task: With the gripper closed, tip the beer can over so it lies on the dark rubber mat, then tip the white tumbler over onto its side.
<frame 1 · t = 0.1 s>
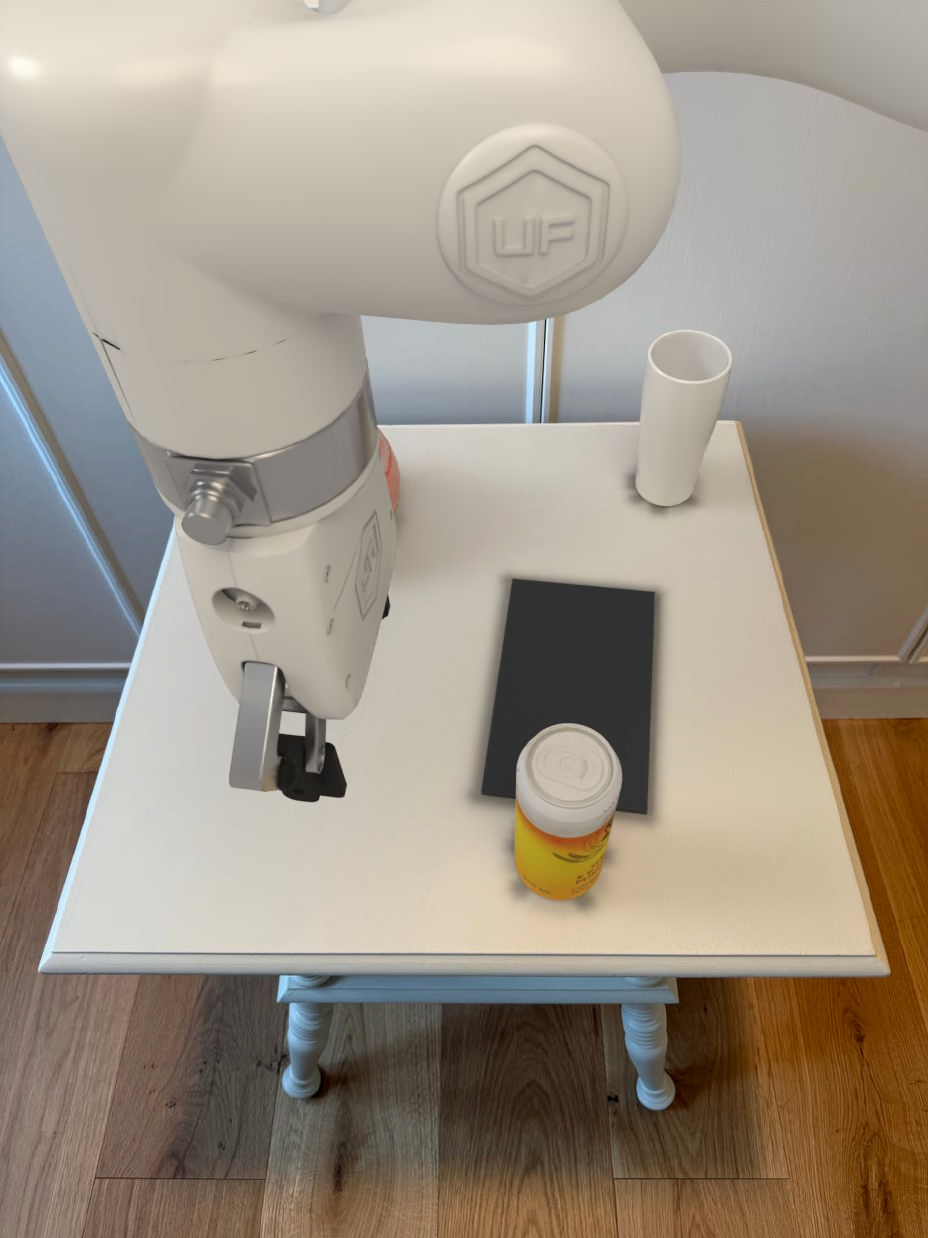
hand: (336, 694, 43), 25 cm above the table, tool pointing down, fingers open, 9 cm apart
white tumbler: (663, 489, 85), on the table
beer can: (557, 862, 65), on the table
mat: (573, 687, 73), on the table
vase: (331, 530, 83), on the table
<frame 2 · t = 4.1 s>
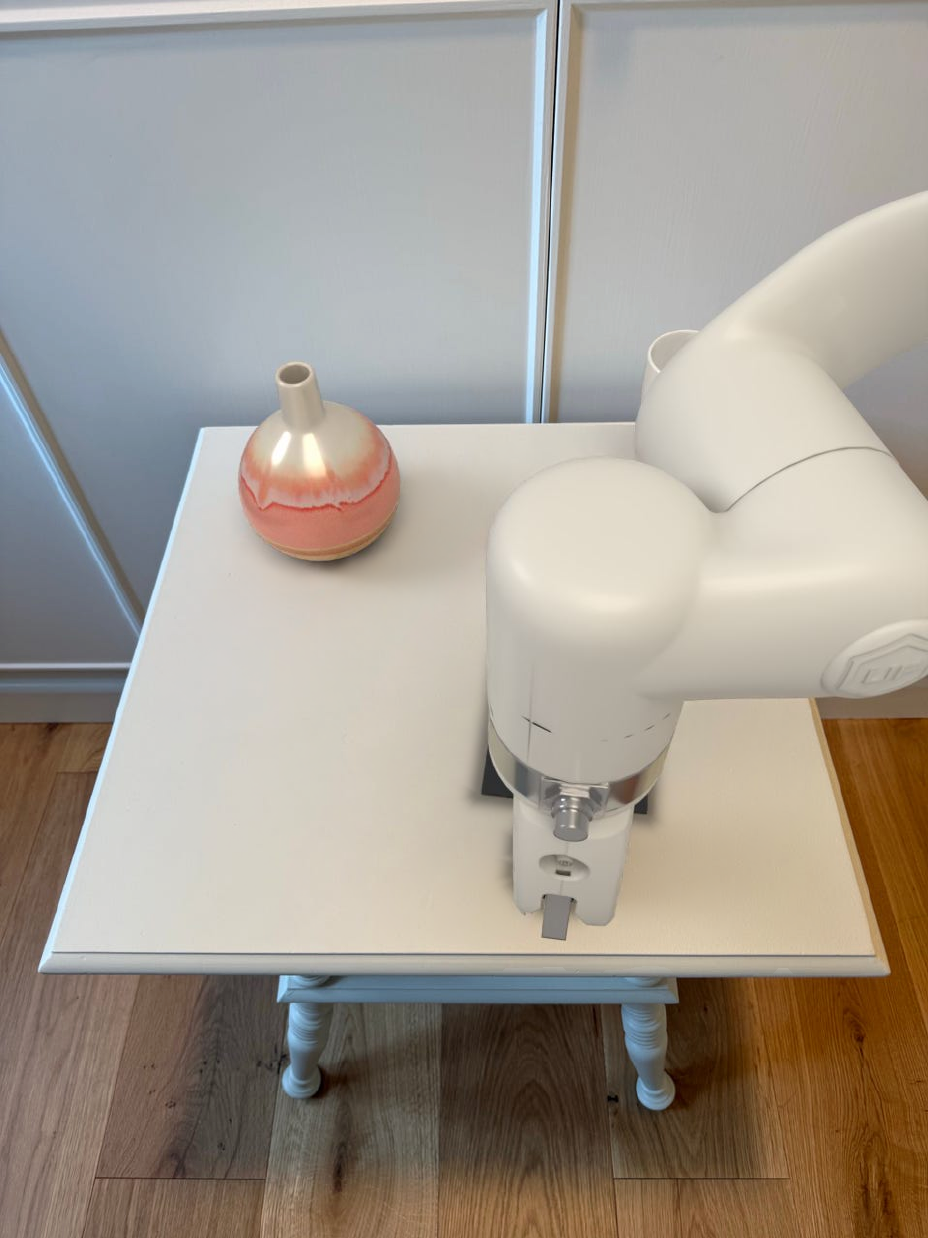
hand: (555, 879, 53), 11 cm above the table, tool pointing down, fingers closed
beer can: (557, 862, 65), on the table, touching gripper
everything else where it was.
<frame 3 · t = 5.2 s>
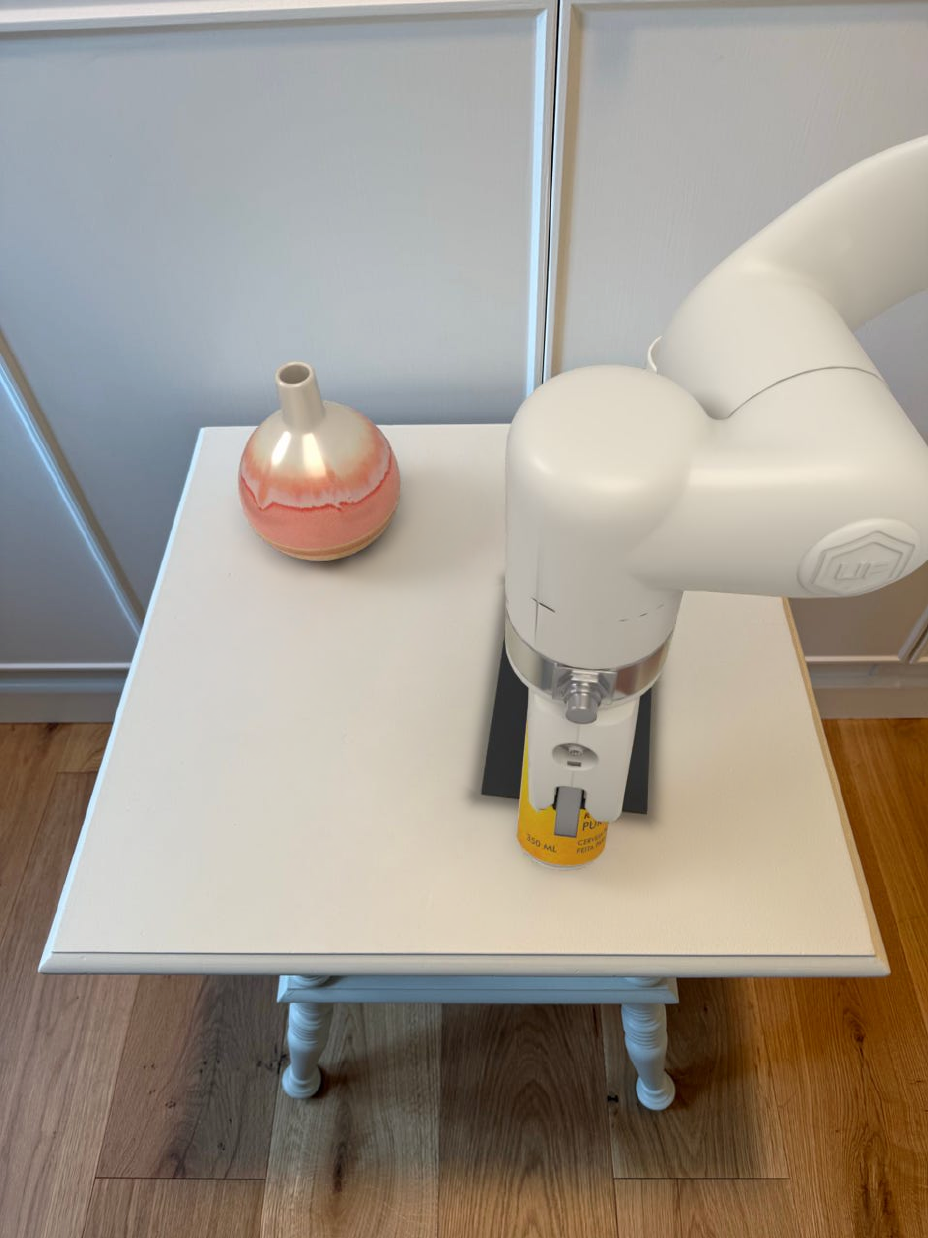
hand: (566, 795, 56), 10 cm above the table, tool pointing down, fingers closed
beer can: (559, 849, 63), point 1 cm above the table
everything else where it was.
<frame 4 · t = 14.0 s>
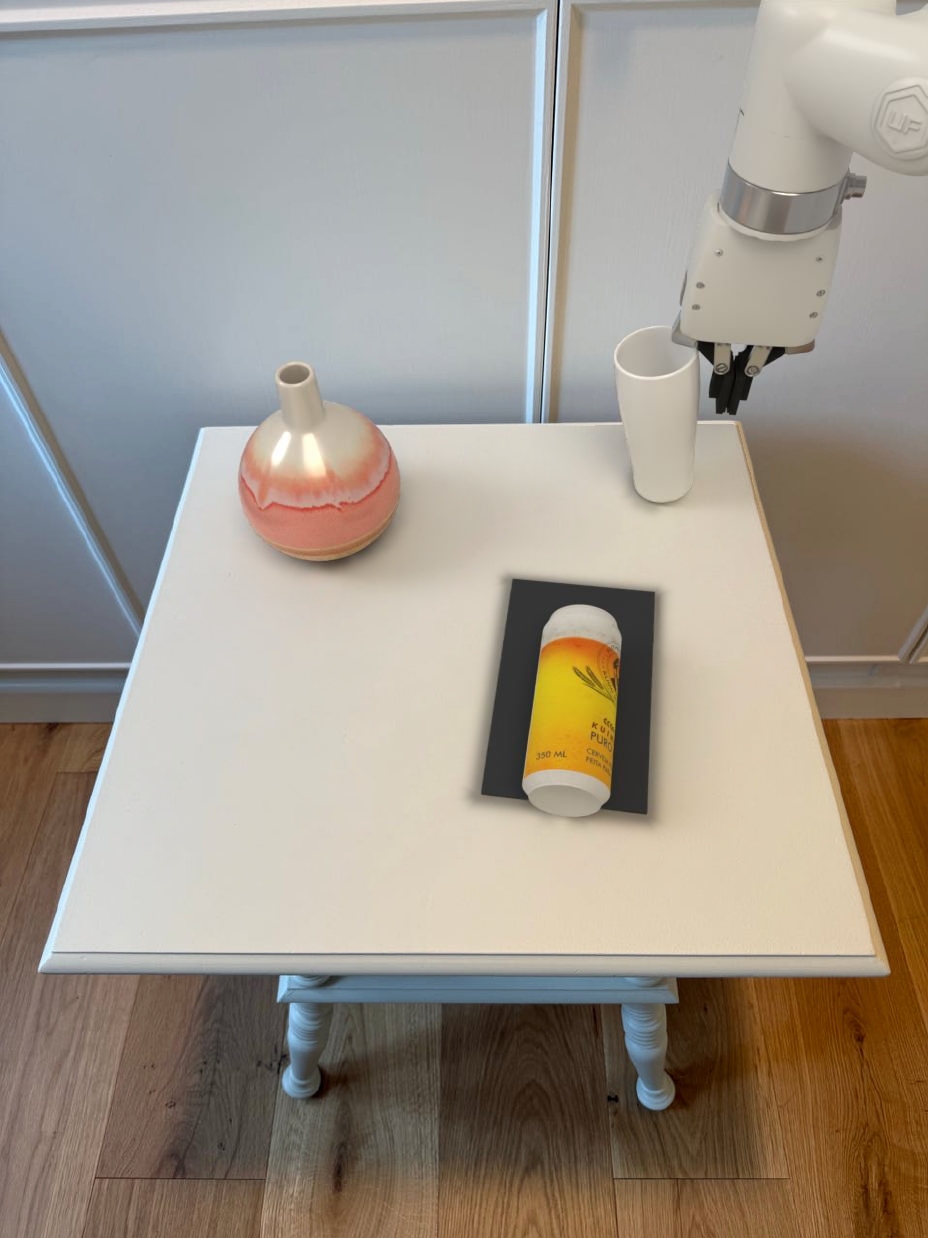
hand: (725, 402, 76), 10 cm above the table, tool pointing down, fingers closed
white tumbler: (663, 485, 84), on the table, touching gripper
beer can: (564, 804, 63), point 3 cm above the table, touching mat
everything else where it was.
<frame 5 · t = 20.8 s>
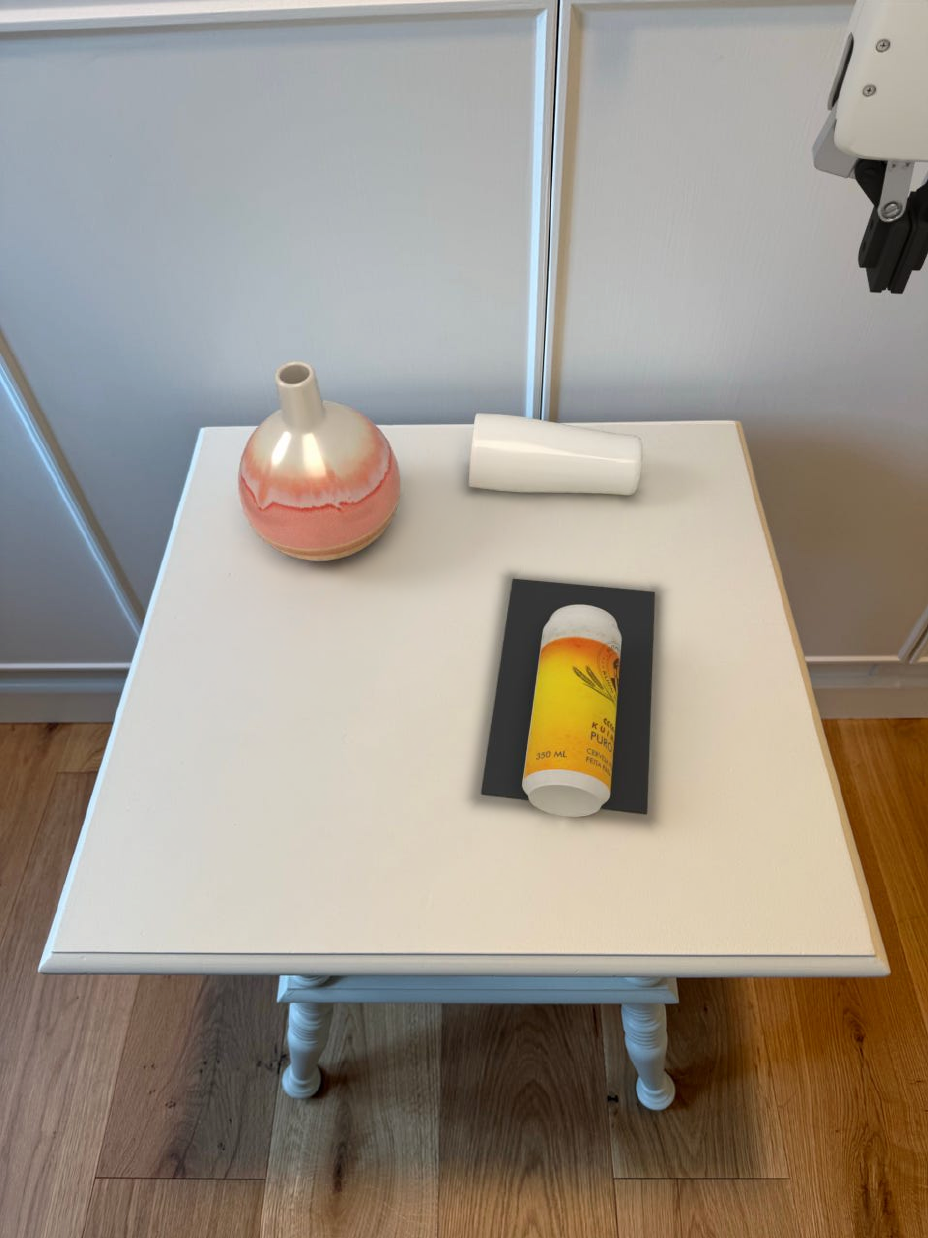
hand: (882, 277, 49), 32 cm above the table, tool pointing down, fingers closed
white tumbler: (640, 466, 83), point 3 cm above the table
everything else where it was.
at the end: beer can tilted 90°; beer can touching mat; white tumbler tilted 86° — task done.
